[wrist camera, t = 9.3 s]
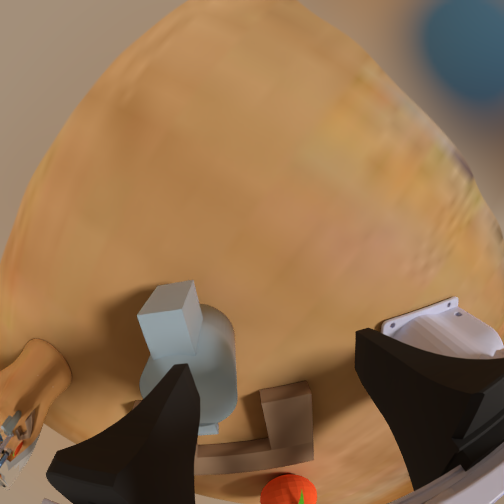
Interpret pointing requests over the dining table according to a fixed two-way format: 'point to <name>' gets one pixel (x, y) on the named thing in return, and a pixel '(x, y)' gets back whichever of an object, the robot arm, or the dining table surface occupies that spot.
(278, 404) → the dock
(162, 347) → the grey tabbed rounded part
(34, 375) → the beer glass
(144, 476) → the robot arm
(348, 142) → the dining table surface
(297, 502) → the clementine
